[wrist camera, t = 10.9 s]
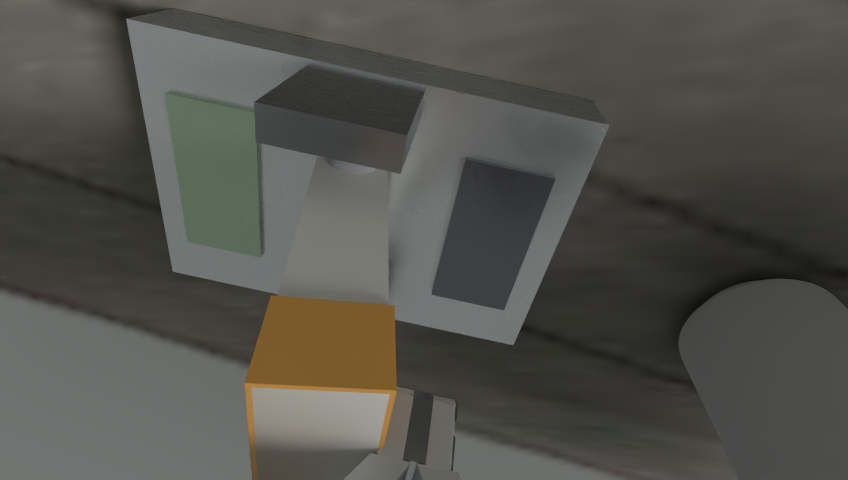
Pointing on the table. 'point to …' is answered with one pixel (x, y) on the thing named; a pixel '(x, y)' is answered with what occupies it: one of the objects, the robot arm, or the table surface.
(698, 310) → the beverage can
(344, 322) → the breaker lever
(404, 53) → the table surface
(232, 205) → the breaker panel
